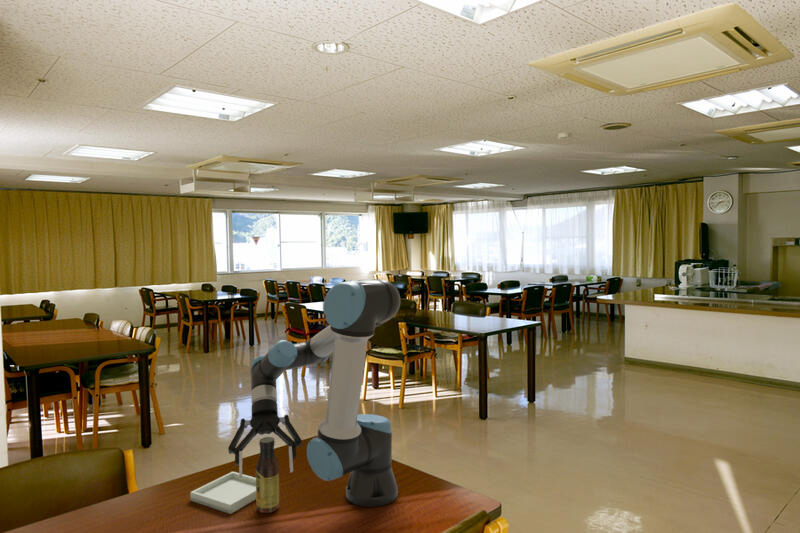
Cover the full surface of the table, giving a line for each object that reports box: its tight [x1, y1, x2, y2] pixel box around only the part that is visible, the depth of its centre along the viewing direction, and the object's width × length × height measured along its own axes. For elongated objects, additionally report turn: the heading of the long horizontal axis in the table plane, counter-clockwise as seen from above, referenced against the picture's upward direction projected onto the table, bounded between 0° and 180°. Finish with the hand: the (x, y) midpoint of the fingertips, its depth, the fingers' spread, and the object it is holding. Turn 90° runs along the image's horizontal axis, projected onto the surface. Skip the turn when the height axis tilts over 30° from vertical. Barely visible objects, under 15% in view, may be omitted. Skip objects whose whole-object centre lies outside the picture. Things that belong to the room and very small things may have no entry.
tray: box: [190, 471, 256, 515], centre depth 156 cm, size 16×16×2 cm
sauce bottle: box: [255, 436, 280, 514], centre depth 147 cm, size 7×6×20 cm
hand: (266, 473), depth 146 cm, fingers open, 13 cm apart
